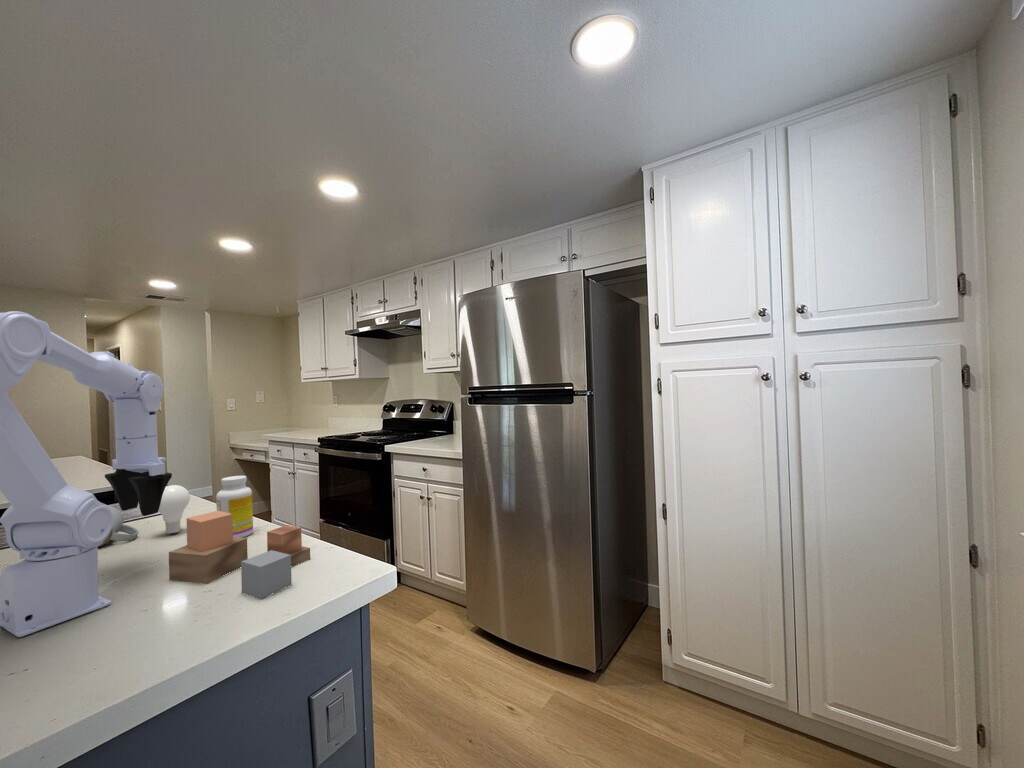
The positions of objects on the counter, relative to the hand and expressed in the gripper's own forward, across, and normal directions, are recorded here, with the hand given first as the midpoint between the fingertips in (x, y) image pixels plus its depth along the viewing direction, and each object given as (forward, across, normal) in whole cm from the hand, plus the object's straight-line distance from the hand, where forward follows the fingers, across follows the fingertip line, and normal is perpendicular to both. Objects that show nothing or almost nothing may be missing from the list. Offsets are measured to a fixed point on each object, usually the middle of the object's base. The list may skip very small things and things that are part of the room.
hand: (139, 511), depth 77 cm
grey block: (+10, -29, -4) cm, 31 cm away
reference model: (+10, -22, -12) cm, 28 cm away
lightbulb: (+11, +17, -12) cm, 24 cm away
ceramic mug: (+11, +24, -3) cm, 27 cm away
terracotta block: (+6, -13, -5) cm, 15 cm away
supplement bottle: (+11, +2, -18) cm, 21 cm away
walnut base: (+11, -13, -4) cm, 18 cm away
